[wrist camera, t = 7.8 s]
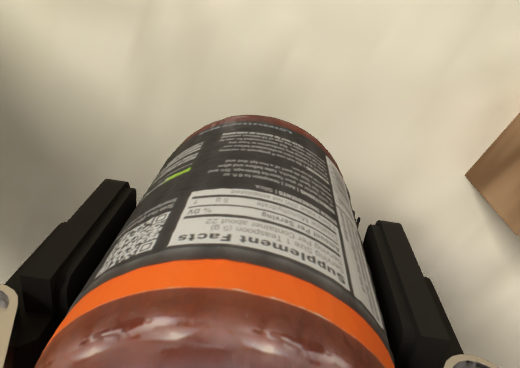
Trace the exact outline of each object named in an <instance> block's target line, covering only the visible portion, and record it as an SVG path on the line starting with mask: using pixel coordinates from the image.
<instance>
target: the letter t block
mask: <svg viewBox="0 0 520 368" xmlns="http://www.w3.org/2000/svg"><path fill="white" fill-rule="evenodd" d="M465 176H466V177H467V178H468V180H469V181H470V182H471V183H472V184H473V185H474V186H475V188H476V189H477V190H478V191H479V192H480V193H481V195H482V196H483V197H484V198H485V199H486V200H487V202H488V203H489V204H490V205H491V206H492V207H493V208H494V210H495V211H496V212H497V213H498V214H499V215H500V217H501V218H502V219H503V220H504V221H505V222H506V224H507V225H508V226H509V227H510V228H511V229H512V231H513V232H514V233H515V234H516V235H518V236H520V113H519V114H518V115H517V116H516V118H515V119H514V120H513V121H512V122H511V123H510V124H509V126H508V127H507V128H506V129H505V130H504V131H503V132H502V133H501V135H500V136H499V137H498V138H497V139H496V140H495V141H494V143H493V144H492V145H491V146H490V147H489V148H488V149H487V150H486V152H485V153H484V154H483V155H482V156H481V157H480V158H479V160H478V161H477V162H476V163H475V164H474V165H473V166H472V167H471V169H470V170H469V171H468V172H467V173H466V174H465Z"/></svg>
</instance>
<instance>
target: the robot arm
mask: <svg viewBox="0 0 520 368" xmlns="http://www.w3.org/2000/svg"><path fill="white" fill-rule="evenodd" d="M135 209H136V190H135V189H134V188H130V185H129V183H128V182H124V181H117V180H111V179H105V180H104V181H103V182H102V183H101V184H100V186H99V187H98V188H97V189H96V190H95V191H94V192H93V193H92V195H91V196H90V197H89V198H88V199H87V200H86V201H85V202H84V204H83V205H82V206H81V207H80V208H79V209H78V210H77V211H76V213H75V214H74V215H73V216H72V217H71V218H70V219H69V220H68V222H64V223H61V224H60V225H58V226H57V227H56V228H55V230H54V231H53V232H52V233H51V234H50V235H49V236H48V237H47V238H46V239H45V240H44V242H43V243H42V244H41V245H40V246H39V247H38V248H37V249H36V250H35V251H34V253H33V254H32V255H31V256H30V257H29V258H28V259H27V260H26V261H25V262H24V263H23V265H22V266H21V267H20V268H19V269H18V270H17V271H16V272H15V273H14V274H13V276H12V277H11V278H10V279H9V280H8V281H7V282H6V283H5V284H4V285H2V284H0V368H34V367H35V365H36V363H37V361H38V360H39V358H40V356H41V354H42V352H43V350H44V349H45V347H46V346H47V344H48V342H49V341H50V339H51V338H52V336H53V335H54V333H55V331H56V330H57V328H58V327H59V325H60V324H61V323H62V321H63V320H64V318H65V317H66V315H67V313H68V311H69V309H70V307H71V306H72V304H73V303H74V301H75V300H76V298H77V297H78V295H79V294H80V292H81V291H82V290H83V288H84V286H85V285H86V283H87V281H88V280H89V278H90V277H91V276H92V274H93V273H94V271H95V270H96V268H97V267H98V265H99V264H100V262H101V261H102V259H103V258H104V256H105V254H106V252H107V251H108V250H109V248H110V247H111V245H112V244H113V242H114V241H115V239H116V237H117V236H118V234H119V233H120V231H121V230H122V228H123V227H124V225H125V223H126V222H127V221H128V219H129V218H130V216H131V214H132V213H133V211H134V210H135ZM363 249H364V251H365V258H366V261H367V263H368V266H369V268H370V271H371V274H372V281H373V284H374V287H375V289H376V297H377V300H378V303H379V307H380V311H381V314H382V317H383V321H384V326H385V329H386V335H387V338H388V342H389V347H390V350H391V352H392V354H393V358H394V363H395V368H499V367H497V366H496V365H494V364H492V363H490V362H489V361H487V360H485V359H482V358H479V357H476V356H473V355H464V353H463V351H462V349H461V347H460V344H459V342H458V340H457V338H456V335H455V333H454V331H453V329H452V326H451V324H450V322H449V320H448V318H447V315H446V313H445V311H444V309H443V306H442V304H441V302H440V300H439V297H438V295H437V293H436V291H435V288H434V286H433V284H432V282H431V281H430V279H429V278H427V277H424V276H423V274H422V272H421V269H420V267H419V265H418V262H417V260H416V258H415V255H414V253H413V251H412V248H411V246H410V244H409V241H408V239H407V237H406V234H405V232H404V230H403V227H402V225H401V224H399V223H393V222H387V221H380V220H378V221H377V222H376V224H375V225H371V224H370V225H369V226H368V228H367V232H366V235H365V238H364V242H363Z"/></svg>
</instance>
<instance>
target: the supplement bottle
mask: <svg viewBox="0 0 520 368" xmlns="http://www.w3.org/2000/svg"><path fill="white" fill-rule="evenodd" d="M359 222H360V218H359V217H358V219H357V222H356V219H355V212H354V211H353V210H352V206H351V203H350V195H349V192H348V189H347V187H346V184H345V182H344V180H343V176H342V174H341V172H340V170H339V168H338V165H337V163H336V162H335V160H334V159H333V157H332V156H331V154H330V153H329V152H328V150H326V149H325V147H324V146H323V145H322V143H320V142H319V141H318V140H317V139H316V138H315V137H313V136H312V135H311V134H309V133H308V132H306V131H305V130H303V129H301V128H299V127H298V126H295V125H293V124H291V123H289V122H286V121H283V120H280V119H277V118H273V117H266V116H260V115H240V116H231V117H228V118H225V119H223V120H219V121H216V122H213V123H211V124H209V125H206V126H204V127H203V128H201V129H199V130H198V131H196V132H194V133H193V134H192V135H190V136H189V137H188V138H187V139H186V140H185V141H184V142H183V143H182V144H181V145H180V146H179V147H178V148H177V149H176V151H175V152H173V154H172V155H171V156H170V157H169V158H168V160H167V161H166V163H165V164H164V166H163V167H162V169H161V170H160V172H159V174H158V175H157V177H156V178H155V180H154V181H153V183H152V184H151V186H150V187H149V189H148V191H147V192H146V193H145V195H144V196H143V198H142V199H141V201H140V202H139V204H138V205H137V207H136V209H135V210H134V211H133V213H132V214H131V216H130V218H129V219H128V221H127V222H126V223H125V225H124V227H123V228H122V230H121V231H120V233H119V234H118V236H117V237H116V239H115V241H114V242H113V244H112V245H111V247H110V248H109V250H108V251H107V252H106V254H105V256H104V258H103V259H102V261H101V262H100V264H99V265H98V267H97V268H96V270H95V271H94V273H93V274H92V276H91V277H90V278H89V280H88V281H87V283H86V285H85V286H84V288H83V290H82V291H81V292H80V294H79V295H78V297H77V298H76V300H75V301H74V303H73V304H72V306H71V307H70V309H69V311H68V313H67V315H66V317H65V318H64V320H63V321H62V323H61V324H60V325H59V327H58V328H57V330H56V331H55V333H54V335H53V336H52V338H51V339H50V341H49V342H48V344H47V346H46V347H45V349H44V350H43V352H42V354H41V356H40V358H39V360H38V361H37V363H36V365H35V367H34V368H395V363H394V358H393V354H392V352H391V350H390V347H389V342H388V338H387V335H386V329H385V326H384V321H383V317H382V314H381V311H380V307H379V303H378V300H377V297H376V289H375V287H374V284H373V281H372V274H371V271H370V268H369V266H368V263H367V261H366V258H365V251H364V249H363V244H362V241H361V238H360V235H359V232H358V225H359Z"/></svg>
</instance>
